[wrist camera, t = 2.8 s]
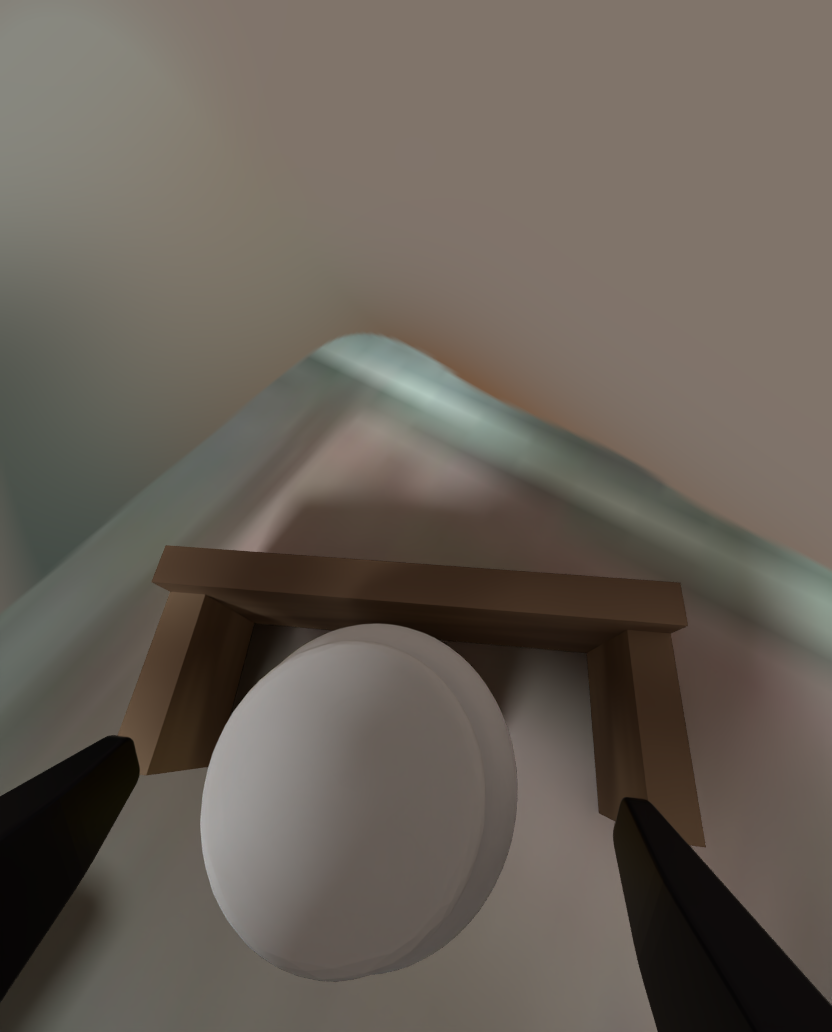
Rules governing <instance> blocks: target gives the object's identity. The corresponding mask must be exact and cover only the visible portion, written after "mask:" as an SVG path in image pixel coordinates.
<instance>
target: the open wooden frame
mask: <svg viewBox="0 0 832 1032" xmlns="http://www.w3.org/2000/svg"><path fill="white" fill-rule="evenodd" d="M152 582H153V583H155V584H156V585H158V586H160V587H162V588H164V589H166V590H168V591H170V594H169V597H168V599H167V602H166V605H165V608H164V610H163V613H162V616H161V618H160V621H159V624H158V627H157V629H156V632H155V635H154V638H153V640H152V643H151V646H150V648H149V651H148V654H147V657H146V659H145V662H144V665H143V668H142V670H141V673H140V676H139V679H138V681H137V684H136V687H135V689H134V692H133V695H132V698H131V700H130V703H129V706H128V709H127V711H126V714H125V717H124V719H123V722H122V725H121V728H120V730H119V733H118V736H124V737H130V738H131V739H132V740H133V742H134V745H135V749H136V753H137V757H138V762H139V766H140V775H152V774H160V773H167V772H174V771H181V770H189V769H196V768H203V767H209V764H210V760H211V757H212V754H213V751H214V749H215V747H216V744H217V742H218V740H219V737H220V735H221V733H222V731H223V729H224V727H225V725H226V723H227V722H228V720H229V717H230V713H231V710H232V706H233V702H234V698H235V695H236V691H237V687H238V683H239V680H240V676H241V672H242V668H243V665H244V661H245V657H246V653H247V650H248V646H249V642H250V638H251V635H252V631H253V627H254V623H256V624H268V625H279V626H290V627H301V628H312V629H324V630H337V629H341V628H345V627H350V626H355V625H361V624H391V625H397V626H402V627H407V628H410V629H413V630H416V631H419V632H422V633H425V634H427V635H429V636H432V637H434V638H436V639H437V640H447V641H458V642H469V643H480V644H491V645H503V646H514V647H525V648H536V649H547V650H559V651H570V652H581V653H587V664H588V677H589V690H590V703H591V715H592V728H593V741H594V754H595V767H596V780H597V793H598V806H599V813H600V814H602V815H604V816H606V817H608V818H610V819H612V820H614V821H616V818H617V813H618V809H619V805H620V802H621V800H622V799H623V798H624V797H632V798H640V799H645V800H648V801H649V802H651V803H652V804H653V805H654V806H655V807H656V809H657V810H658V811H659V812H660V813H661V814H662V815H663V816H664V818H665V819H666V820H667V821H668V822H669V823H670V824H671V825H672V827H673V828H674V829H675V830H676V831H677V832H678V833H679V834H680V836H681V837H682V838H683V839H684V840H685V841H686V842H687V843H688V845H692V846H700V847H706V845H705V839H704V833H703V827H702V821H701V815H700V809H699V803H698V797H697V791H696V785H695V779H694V773H693V767H692V760H691V754H690V748H689V742H688V736H687V730H686V724H685V718H684V712H683V706H682V700H681V694H680V688H679V682H678V676H677V670H676V664H675V658H674V651H673V645H672V639H671V633H673V632H675V631H677V630H679V629H682V628H684V627H686V626H688V623H687V617H686V612H685V606H684V601H683V596H682V590H681V585H680V583H677V582H663V581H650V580H636V579H622V578H608V577H594V576H581V575H567V574H553V573H539V572H525V571H512V570H498V569H484V568H470V567H456V566H443V565H429V564H415V563H401V562H387V561H374V560H360V559H346V558H332V557H318V556H305V555H291V554H277V553H263V552H249V551H236V550H222V549H208V548H194V547H180V546H167V545H166V546H165V549H164V551H163V554H162V556H161V559H160V561H159V564H158V567H157V569H156V572H155V574H154V577H153V579H152Z"/></svg>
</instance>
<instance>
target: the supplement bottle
mask: <svg viewBox="0 0 832 1032" xmlns="http://www.w3.org/2000/svg"><path fill="white" fill-rule="evenodd" d="M516 809H517V770H516V763H515V757H514V751H513V746H512V742H511V738H510V734H509V731H508V728H507V725H506V722H505V720H504V717H503V715H502V713H501V710H500V708H499V706H498V704H497V702H496V700H495V698H494V697H493V695H492V693H491V692H490V690H489V688H488V687H487V685H486V684H485V682H484V681H483V680H482V678H481V677H480V676H479V674H478V673H477V672H476V671H475V670H474V668H473V667H472V666H471V665H470V664H469V663H468V662H467V661H466V660H465V659H464V658H463V657H461V656H460V655H459V654H458V653H457V652H455V651H454V650H453V649H451V648H450V647H449V646H447V645H445V644H444V643H442V642H441V641H439V640H437V639H436V638H434V637H432V636H429V635H427V634H425V633H422V632H419V631H416V630H413V629H410V628H407V627H402V626H397V625H391V624H361V625H355V626H350V627H345V628H341V629H337V630H334V631H331V632H328V633H326V634H324V635H322V636H320V637H318V638H316V639H314V640H312V641H310V642H308V643H306V644H305V645H303V646H301V647H300V648H299V649H297V650H296V651H295V652H293V653H292V654H290V655H289V656H288V657H287V658H286V659H285V660H283V661H282V662H281V663H280V664H279V665H278V666H276V667H275V668H274V669H272V670H271V671H270V672H269V673H268V674H266V675H265V676H264V677H263V678H261V679H260V680H259V681H258V682H257V684H256V685H255V686H254V687H253V688H252V689H251V690H250V691H249V692H248V693H247V694H246V696H245V697H244V698H243V700H242V701H241V702H240V704H239V705H238V706H237V708H236V709H235V710H234V712H233V713H232V715H231V717H230V718H229V720H228V722H227V723H226V725H225V727H224V729H223V731H222V733H221V735H220V737H219V740H218V742H217V744H216V747H215V749H214V751H213V754H212V757H211V760H210V764H209V767H208V771H207V776H206V780H205V785H204V790H203V796H202V808H201V820H200V827H201V841H202V851H203V857H204V862H205V867H206V871H207V874H208V878H209V881H210V884H211V888H212V891H213V894H214V896H215V898H216V900H217V902H218V904H219V906H220V908H221V910H222V912H223V913H224V915H225V917H226V919H227V920H228V922H229V923H230V925H231V926H232V927H233V928H234V930H235V931H236V932H237V933H238V935H239V936H240V937H241V938H242V940H243V941H244V942H245V943H246V944H247V946H248V947H249V948H251V949H252V950H253V951H254V952H256V953H257V954H258V955H259V956H261V957H262V958H263V959H265V960H266V961H268V962H269V963H271V964H272V965H274V966H276V967H278V968H279V969H282V970H284V971H287V972H289V973H291V974H294V975H296V976H300V977H304V978H309V979H313V980H318V981H332V982H337V981H346V980H353V979H357V978H361V977H365V976H369V975H375V974H383V973H387V972H392V971H396V970H399V969H402V968H405V967H409V966H411V965H413V964H415V963H417V962H419V961H421V960H423V959H425V958H427V957H429V956H430V955H432V954H434V953H435V952H437V951H438V950H440V949H441V948H443V947H444V946H445V945H446V944H448V943H449V942H450V941H451V940H452V939H454V938H455V937H456V936H457V935H458V934H459V933H460V932H461V931H462V930H463V929H464V928H465V927H466V926H467V925H468V924H469V923H470V922H471V920H472V919H473V918H474V917H475V915H476V914H477V913H478V912H479V910H480V909H481V907H482V906H483V904H484V903H485V901H486V900H487V898H488V897H489V895H490V893H491V891H492V889H493V888H494V886H495V884H496V882H497V879H498V877H499V875H500V873H501V871H502V869H503V866H504V863H505V861H506V858H507V855H508V852H509V848H510V845H511V841H512V836H513V831H514V825H515V820H516Z"/></svg>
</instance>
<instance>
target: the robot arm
mask: <svg viewBox="0 0 832 1032" xmlns="http://www.w3.org/2000/svg"><path fill="white" fill-rule="evenodd" d="M139 774H140V766H139V762H138V757H137V753H136V749H135V745H134V742H133V740H132V739H131V738H130V737H124V736H116V735H111V736H107V737H105V738H103V739H101V740H99V741H97V742H96V743H94V744H92V745H90V746H89V747H87V748H85V749H83V750H81V751H80V752H78V753H76V754H74V755H73V756H71V757H69V758H67V759H66V760H64V761H62V762H60V763H58V764H57V765H55V766H53V767H51V768H50V769H48V770H46V771H44V772H42V773H41V774H39V775H37V776H35V777H34V778H32V779H30V780H28V781H27V782H25V783H23V784H21V785H19V786H18V787H16V788H14V789H12V790H11V791H9V792H7V793H5V794H4V795H2V796H0V1002H1V1001H2V999H3V998H4V996H5V995H6V993H7V992H8V990H9V989H10V987H11V986H12V984H13V983H14V981H15V980H16V978H17V977H18V975H19V974H20V972H21V971H22V969H23V968H24V966H25V965H26V963H27V962H28V960H29V959H30V957H31V956H32V954H33V953H34V951H35V950H36V948H37V947H38V945H39V944H40V942H41V941H42V939H43V938H44V936H45V934H46V933H47V931H48V930H49V928H50V927H51V925H52V924H53V922H54V921H55V919H56V918H57V916H58V915H59V913H60V912H61V910H62V909H63V907H64V906H65V904H66V903H67V901H68V900H69V898H70V897H71V895H72V894H73V892H74V891H75V889H76V888H77V886H78V885H79V883H80V881H81V880H82V878H83V877H84V875H85V873H86V872H87V870H88V868H89V867H90V865H91V863H92V862H93V860H94V858H95V856H96V855H97V853H98V851H99V849H100V848H101V846H102V844H103V842H104V840H105V839H106V837H107V835H108V833H109V832H110V830H111V828H112V826H113V824H114V823H115V821H116V819H117V817H118V816H119V814H120V812H121V810H122V808H123V807H124V805H125V803H126V801H127V800H128V798H129V796H130V794H131V792H132V791H133V789H134V787H135V785H136V783H137V781H138V778H139ZM613 841H614V848H615V853H616V858H617V863H618V868H619V873H620V878H621V883H622V887H623V892H624V897H625V902H626V907H627V912H628V917H629V922H630V927H631V932H632V937H633V942H634V946H635V951H636V955H637V960H638V964H639V968H640V971H641V975H642V979H643V982H644V986H645V989H646V993H647V996H648V1000H649V1003H650V1007H651V1010H652V1013H653V1017H654V1020H655V1024H656V1027H657V1031H658V1032H832V1005H831V1004H830V1003H829V1002H828V1001H827V1000H826V999H825V997H824V996H823V995H822V994H821V993H820V992H819V991H818V990H817V988H816V987H815V986H814V985H813V984H812V983H811V982H810V981H809V979H808V978H807V977H806V976H805V975H804V974H803V973H802V972H801V970H800V969H799V968H798V967H797V966H796V965H795V964H794V963H793V961H792V960H791V959H790V958H789V957H788V956H787V955H786V954H785V952H784V951H783V950H782V949H781V948H780V947H779V946H778V945H777V943H776V942H775V941H774V940H773V939H772V938H771V937H770V936H769V934H768V933H767V932H766V931H765V930H764V929H763V928H762V927H761V925H760V924H759V923H758V922H757V921H756V920H755V919H754V918H753V916H752V915H751V914H750V913H749V912H748V911H747V910H746V909H745V907H744V906H743V905H742V904H741V903H740V902H739V901H738V900H737V898H736V897H735V896H734V895H733V894H732V893H731V892H730V891H729V889H728V888H727V887H726V886H725V885H724V884H723V883H722V882H721V880H720V879H719V878H718V877H717V876H716V875H715V874H714V873H713V871H712V870H711V869H710V868H709V867H708V866H707V865H706V864H705V862H704V861H703V860H702V859H701V858H700V857H699V856H698V855H697V853H696V852H695V851H694V850H693V849H692V848H691V847H690V846H689V845H688V843H687V842H686V841H685V840H684V839H683V838H682V837H681V836H680V834H679V833H678V832H677V831H676V830H675V829H674V828H673V827H672V825H671V824H670V823H669V822H668V821H667V820H666V819H665V818H664V816H663V815H662V814H661V813H660V812H659V811H658V810H657V809H656V807H655V806H654V805H653V804H652V803H651V802H649V801H648V800H645V799H640V798H632V797H624V798H623V799H622V800H621V802H620V805H619V809H618V813H617V818H616V822H615V826H614V830H613Z"/></svg>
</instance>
